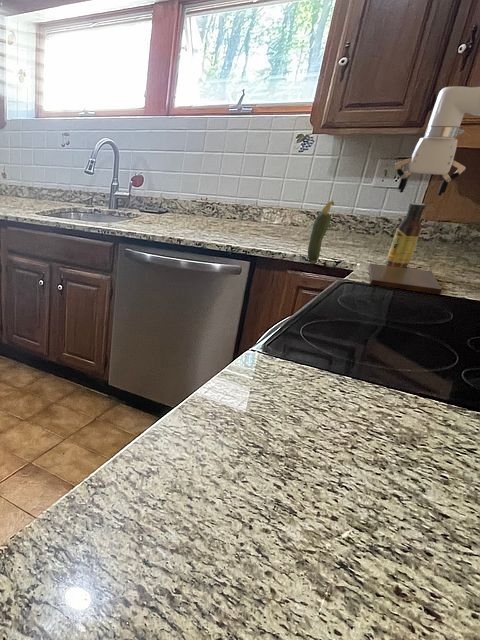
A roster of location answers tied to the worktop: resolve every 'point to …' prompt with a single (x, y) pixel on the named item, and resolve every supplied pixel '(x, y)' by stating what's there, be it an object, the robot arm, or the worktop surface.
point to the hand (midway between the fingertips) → (419, 193)
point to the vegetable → (319, 233)
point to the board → (404, 278)
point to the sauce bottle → (406, 237)
